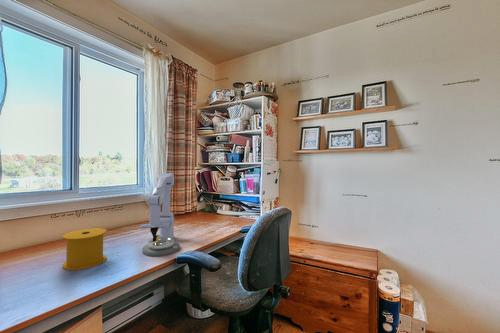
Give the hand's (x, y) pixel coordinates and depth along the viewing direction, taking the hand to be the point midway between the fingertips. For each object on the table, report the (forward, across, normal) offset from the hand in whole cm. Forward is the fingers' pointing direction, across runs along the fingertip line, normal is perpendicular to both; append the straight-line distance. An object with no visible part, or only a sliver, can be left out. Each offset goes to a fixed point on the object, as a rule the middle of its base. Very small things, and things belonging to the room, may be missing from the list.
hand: (154, 240), depth 129 cm
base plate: (+7, +3, +5) cm, 9 cm away
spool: (+7, -32, -6) cm, 33 cm away
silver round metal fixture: (+5, +3, +5) cm, 7 cm away
